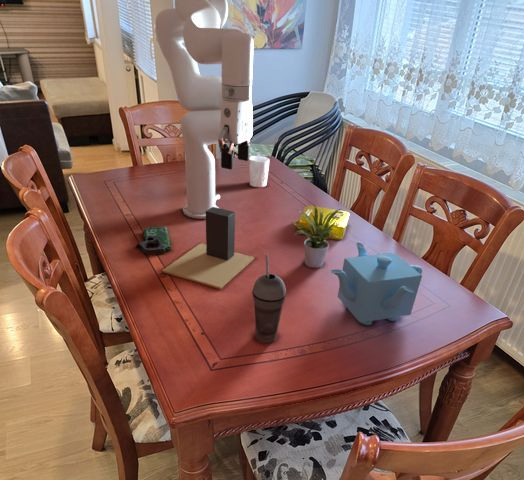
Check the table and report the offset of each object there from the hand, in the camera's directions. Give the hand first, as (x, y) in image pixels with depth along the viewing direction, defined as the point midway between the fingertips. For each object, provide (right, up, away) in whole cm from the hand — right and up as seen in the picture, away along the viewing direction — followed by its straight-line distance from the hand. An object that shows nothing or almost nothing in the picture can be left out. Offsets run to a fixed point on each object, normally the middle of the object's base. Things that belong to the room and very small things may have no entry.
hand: (235, 163), depth 127 cm
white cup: (+6, +16, +60) cm, 62 cm away
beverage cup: (+8, -48, -21) cm, 53 cm away
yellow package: (+28, -10, +29) cm, 41 cm away
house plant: (+23, -25, +10) cm, 35 cm away
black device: (-5, -23, +8) cm, 25 cm away
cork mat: (-7, -27, +4) cm, 28 cm away
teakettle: (+34, -41, -10) cm, 54 cm away
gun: (-26, -18, +14) cm, 34 cm away
